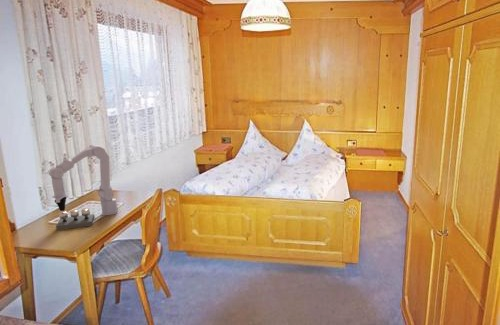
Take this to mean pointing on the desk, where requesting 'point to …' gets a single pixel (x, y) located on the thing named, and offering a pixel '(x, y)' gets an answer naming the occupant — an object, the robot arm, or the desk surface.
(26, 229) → the desk surface
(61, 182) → the robot arm
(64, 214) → the knob
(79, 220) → the knob panel
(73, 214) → the knob mid
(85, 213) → the knob
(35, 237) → the desk surface
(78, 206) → the desk surface
